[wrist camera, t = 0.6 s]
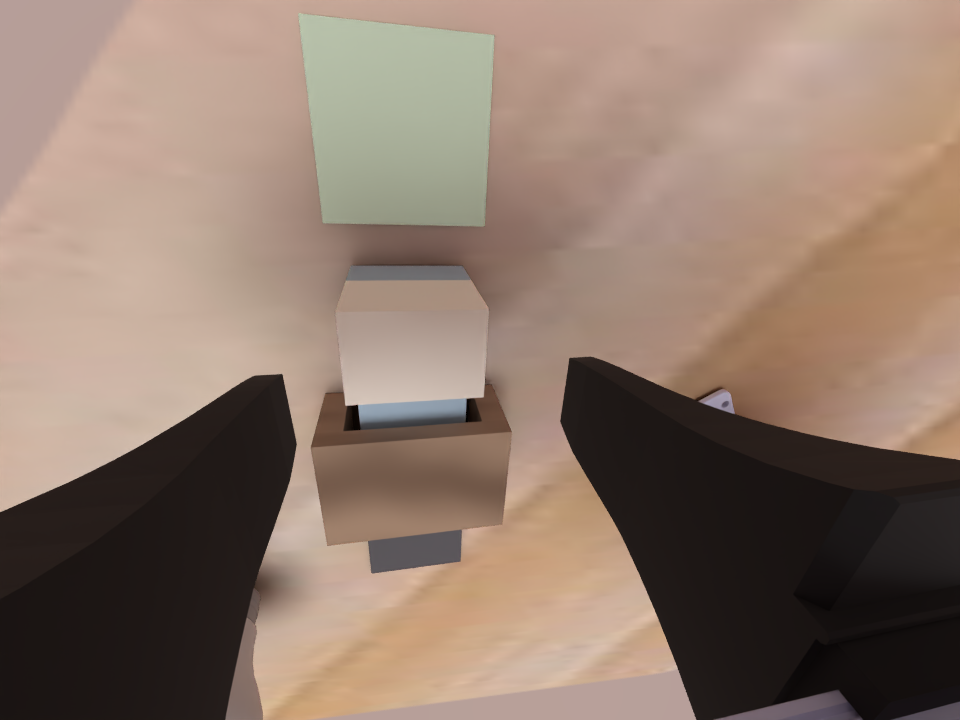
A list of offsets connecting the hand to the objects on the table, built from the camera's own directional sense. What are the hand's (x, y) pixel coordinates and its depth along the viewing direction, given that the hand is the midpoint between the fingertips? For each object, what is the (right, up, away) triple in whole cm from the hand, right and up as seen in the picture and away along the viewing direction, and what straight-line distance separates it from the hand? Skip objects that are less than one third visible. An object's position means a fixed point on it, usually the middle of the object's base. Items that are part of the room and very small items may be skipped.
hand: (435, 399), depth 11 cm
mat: (-2, +10, +6) cm, 12 cm away
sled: (-2, -1, +11) cm, 11 cm away
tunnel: (-3, -3, +13) cm, 13 cm away
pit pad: (-3, -10, +16) cm, 20 cm away
